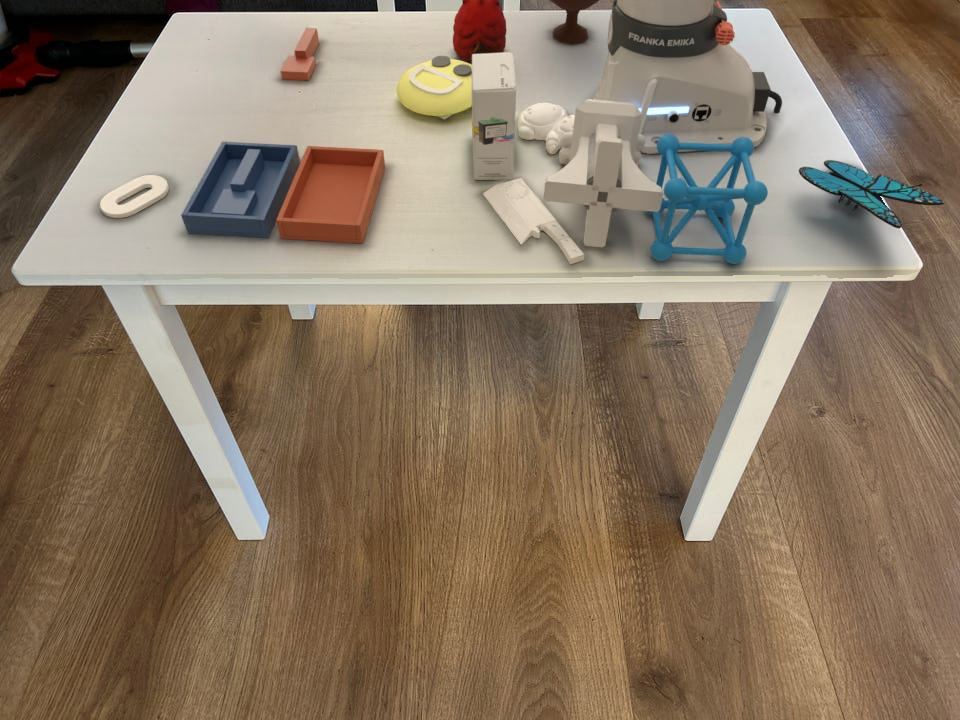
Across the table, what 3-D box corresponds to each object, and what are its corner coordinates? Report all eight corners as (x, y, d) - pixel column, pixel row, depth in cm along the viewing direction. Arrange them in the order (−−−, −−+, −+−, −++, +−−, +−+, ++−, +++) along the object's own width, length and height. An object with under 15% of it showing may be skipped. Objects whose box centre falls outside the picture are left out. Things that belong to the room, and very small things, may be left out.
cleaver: (541, 273, 79) (542, 266, 78) (483, 195, 88) (483, 187, 88) (584, 260, 81) (585, 252, 80) (522, 183, 90) (522, 175, 89)
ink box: (471, 140, 96) (470, 50, 87) (511, 140, 96) (513, 50, 87) (472, 181, 90) (471, 89, 81) (514, 180, 90) (517, 88, 81)
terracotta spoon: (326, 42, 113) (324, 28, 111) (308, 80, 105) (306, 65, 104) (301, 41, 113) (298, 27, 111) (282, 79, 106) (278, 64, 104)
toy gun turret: (551, 125, 72) (560, 52, 85) (538, 240, 82) (549, 159, 95) (676, 136, 72) (667, 61, 85) (650, 252, 81) (645, 168, 94)
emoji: (446, 110, 94) (503, 65, 99) (375, 81, 99) (433, 39, 104) (449, 137, 97) (504, 91, 102) (380, 108, 102) (436, 65, 107)
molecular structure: (754, 132, 79) (657, 129, 79) (773, 191, 72) (667, 186, 73) (730, 210, 86) (642, 206, 87) (745, 269, 80) (649, 265, 80)
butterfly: (880, 254, 76) (910, 211, 73) (769, 192, 82) (793, 150, 79) (931, 224, 90) (958, 186, 87) (832, 173, 95) (854, 136, 92)
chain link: (115, 219, 84) (91, 201, 86) (117, 223, 85) (93, 206, 87) (175, 186, 88) (151, 169, 90) (177, 190, 89) (152, 173, 91)
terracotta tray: (385, 167, 92) (383, 149, 90) (362, 243, 83) (360, 225, 81) (311, 163, 92) (307, 145, 90) (280, 238, 83) (275, 220, 81)
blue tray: (300, 162, 92) (296, 145, 91) (268, 238, 83) (263, 219, 81) (227, 159, 93) (221, 141, 91) (187, 233, 84) (180, 215, 82)
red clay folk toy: (504, 45, 112) (506, -65, 101) (507, 69, 107) (510, -43, 96) (452, 46, 112) (449, -63, 100) (454, 70, 107) (450, -42, 96)
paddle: (274, 165, 91) (270, 149, 90) (246, 223, 84) (241, 207, 82) (243, 163, 91) (238, 148, 90) (213, 221, 84) (208, 205, 83)
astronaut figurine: (572, 168, 92) (575, 147, 89) (503, 128, 97) (504, 107, 95) (619, 140, 95) (623, 118, 93) (550, 103, 101) (551, 82, 99)
